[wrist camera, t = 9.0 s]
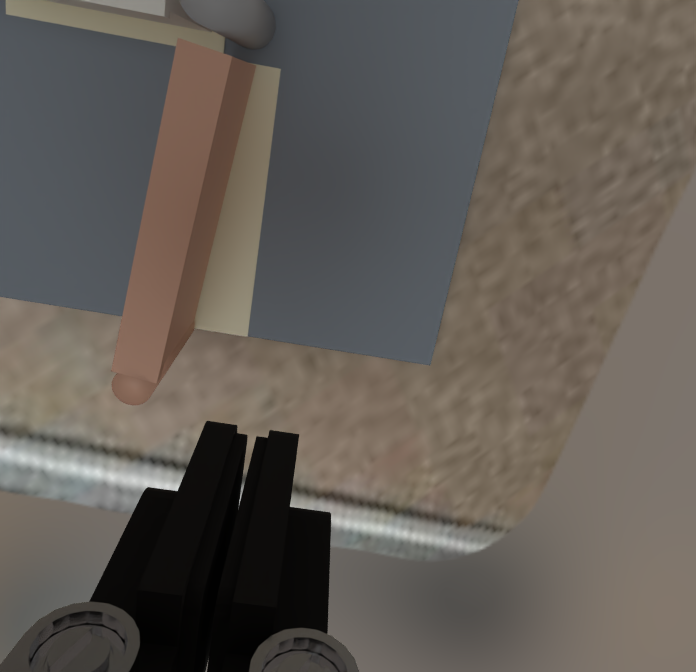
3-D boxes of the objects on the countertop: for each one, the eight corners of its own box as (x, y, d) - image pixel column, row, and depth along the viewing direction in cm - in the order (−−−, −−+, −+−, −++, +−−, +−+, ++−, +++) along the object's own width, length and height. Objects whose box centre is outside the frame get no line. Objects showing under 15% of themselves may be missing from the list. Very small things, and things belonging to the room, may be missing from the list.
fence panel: (221, 53, 24) (177, 37, 18) (261, 67, 24) (232, 56, 18) (158, 332, 28) (106, 398, 22) (193, 342, 28) (150, 410, 22)
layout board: (-13, -329, 21) (-233, -591, 13) (564, -200, 22) (686, -367, 14) (4, 294, 28) (-127, 368, 20) (429, 362, 30) (459, 456, 22)
